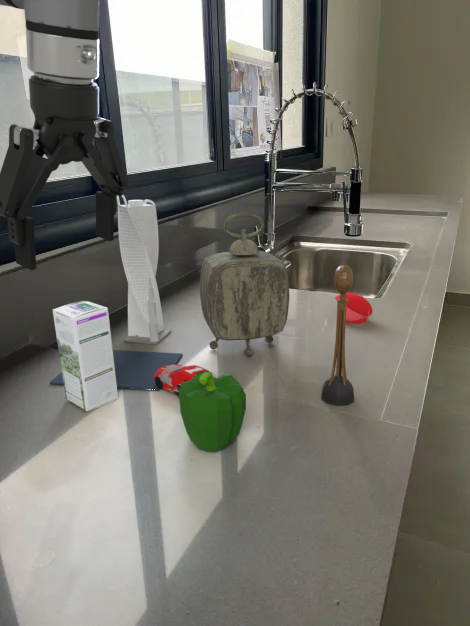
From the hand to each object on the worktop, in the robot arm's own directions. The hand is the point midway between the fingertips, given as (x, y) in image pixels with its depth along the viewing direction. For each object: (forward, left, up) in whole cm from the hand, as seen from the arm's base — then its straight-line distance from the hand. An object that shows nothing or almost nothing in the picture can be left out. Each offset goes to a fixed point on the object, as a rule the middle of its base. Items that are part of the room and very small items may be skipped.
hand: (68, 251), depth 66 cm
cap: (+41, +42, -23) cm, 62 cm away
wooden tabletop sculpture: (+37, +7, -23) cm, 44 cm away
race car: (+15, +5, -22) cm, 27 cm away
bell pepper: (+21, -7, -23) cm, 32 cm away
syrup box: (+1, +1, -23) cm, 23 cm away
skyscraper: (0, +28, -23) cm, 36 cm away
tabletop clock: (+21, +22, -23) cm, 37 cm away
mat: (+1, +12, -23) cm, 25 cm away
